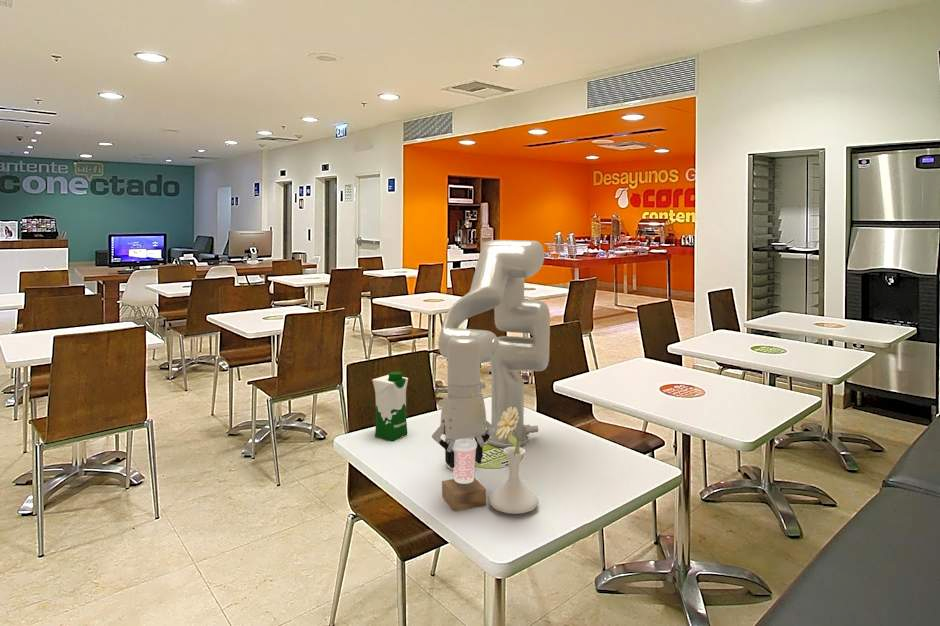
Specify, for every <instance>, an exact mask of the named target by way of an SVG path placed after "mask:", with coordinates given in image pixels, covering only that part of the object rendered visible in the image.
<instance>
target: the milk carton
mask: <svg viewBox="0 0 940 626" xmlns="http://www.w3.org/2000/svg"><path fill="white" fill-rule="evenodd" d="M408 381H409V377H405V376H403V372H402V371H397V370H395V371H389V372H388V374H387V375H383V376H380V377H377V378H373V379H372V385H373V387H374V393H375V431H374V437H375V438H380V439H383V440H386V441H389V440H390V441H389V442H394V441H397V440H399V439H400V437H401V438H403V437H405V435H406V436H408V435H407V434H409V433H408V423H407V387H408ZM402 436H403V437H402ZM398 438H399V439H398Z"/></svg>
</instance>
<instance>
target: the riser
mask: <svg viewBox="0 0 940 626" xmlns="http://www.w3.org/2000/svg"><path fill="white" fill-rule="evenodd" d="M441 497H442V498H443V499H444V501H445V502H446V503H447V504H448V506H449V507H450V509H452V511H453V512H457V511H463V510H467V509H473V508H479V507H483V506H487V488H486V487H485V486H484V485H483V484H482V483H480V481H479V480H478V479H477V478H476V477H475V476H474V480H473V482H471V483H467V484H460V483H457V482H455V480H454V478H453V479H447V480H442V481H441Z"/></svg>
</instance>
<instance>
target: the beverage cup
mask: <svg viewBox="0 0 940 626" xmlns="http://www.w3.org/2000/svg"><path fill="white" fill-rule="evenodd" d="M476 448H477V442H476V441H475V439H473V440H471V439H458V440H456V441H455V443H454V446H453V449H452V450H453V451H454V470H453V479H454V480H455V482H457V483H460V484H467V483H471V482H473V480H474V477H475V467H476V466H475V465H476V461H475V454H476Z"/></svg>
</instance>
